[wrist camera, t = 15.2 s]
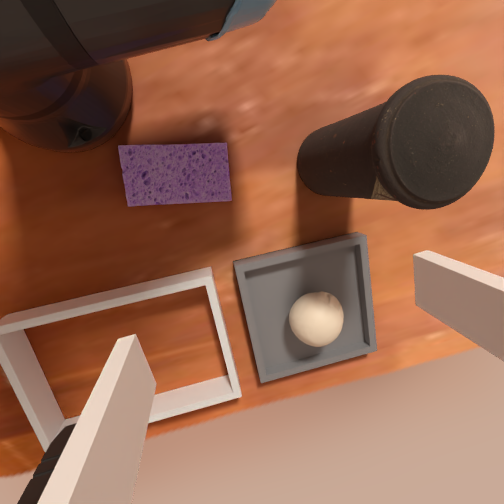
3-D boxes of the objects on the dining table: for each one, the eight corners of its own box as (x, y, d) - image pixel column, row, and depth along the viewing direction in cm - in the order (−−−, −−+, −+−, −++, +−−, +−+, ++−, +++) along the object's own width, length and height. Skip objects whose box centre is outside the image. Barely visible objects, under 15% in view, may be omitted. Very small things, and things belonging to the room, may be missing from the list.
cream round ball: (341, 301, 42) (365, 323, 35) (307, 338, 42) (325, 366, 36) (309, 273, 40) (328, 291, 34) (274, 312, 41) (287, 337, 34)
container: (316, 209, 39) (423, 236, 20) (280, 152, 37) (363, 119, 17) (368, 172, 39) (526, 162, 20) (335, 111, 36) (481, 33, 17)
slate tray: (257, 372, 44) (261, 383, 41) (232, 261, 39) (234, 266, 37) (368, 341, 45) (377, 350, 43) (356, 231, 41) (366, 235, 38)
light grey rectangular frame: (60, 427, 41) (45, 452, 37) (7, 314, 36) (-17, 330, 32) (238, 377, 43) (241, 396, 39) (211, 266, 39) (211, 275, 35)
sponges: (121, 146, 34) (117, 144, 32) (227, 143, 36) (229, 141, 34) (130, 206, 36) (126, 207, 34) (231, 200, 38) (232, 201, 36)
